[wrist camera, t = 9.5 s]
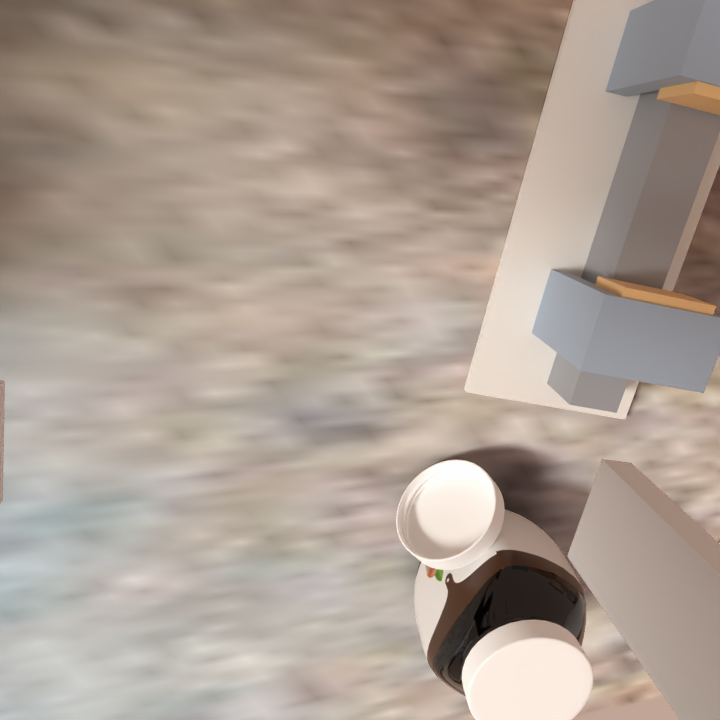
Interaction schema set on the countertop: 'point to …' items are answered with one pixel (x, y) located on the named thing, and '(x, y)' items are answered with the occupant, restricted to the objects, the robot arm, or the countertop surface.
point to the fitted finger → (671, 53)
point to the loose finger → (630, 330)
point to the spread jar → (493, 599)
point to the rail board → (592, 212)
